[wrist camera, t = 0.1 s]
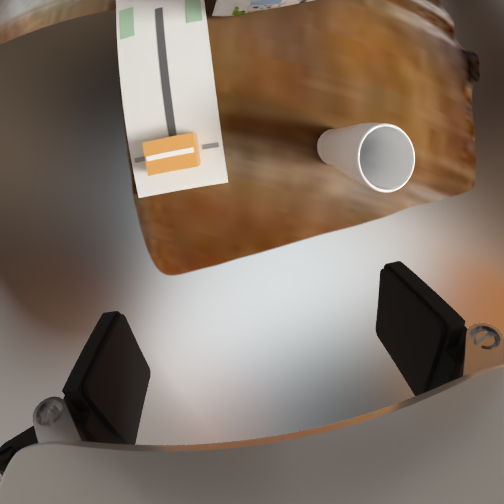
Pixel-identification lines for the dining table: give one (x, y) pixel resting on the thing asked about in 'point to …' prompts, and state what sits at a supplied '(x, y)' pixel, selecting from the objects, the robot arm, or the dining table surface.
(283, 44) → the dining table surface
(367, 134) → the drinking glass
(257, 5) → the pouch
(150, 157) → the fader knob
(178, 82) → the console board
